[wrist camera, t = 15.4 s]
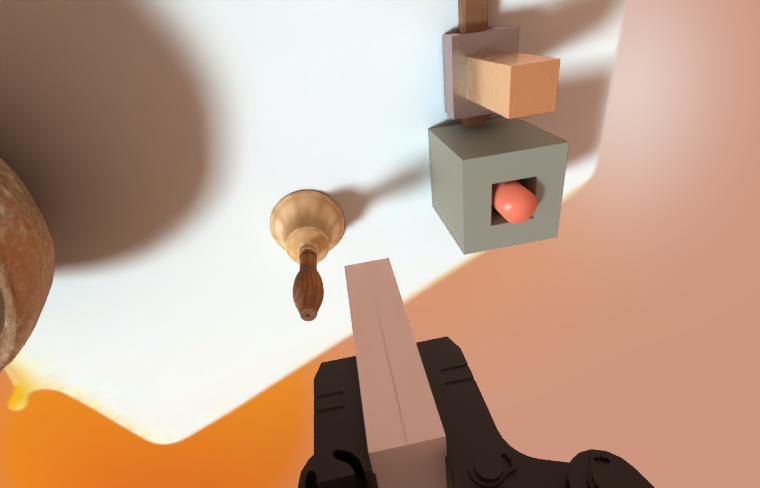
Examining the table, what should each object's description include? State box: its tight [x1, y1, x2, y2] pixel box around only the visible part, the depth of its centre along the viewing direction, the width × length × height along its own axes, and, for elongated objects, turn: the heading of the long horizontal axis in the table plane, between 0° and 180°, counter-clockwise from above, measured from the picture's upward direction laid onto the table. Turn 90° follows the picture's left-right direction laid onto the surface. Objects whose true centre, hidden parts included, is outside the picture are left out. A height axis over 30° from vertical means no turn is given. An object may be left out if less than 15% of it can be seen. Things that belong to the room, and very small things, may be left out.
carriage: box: [442, 26, 560, 120], centre depth 33 cm, size 7×6×13 cm
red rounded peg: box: [491, 180, 537, 223], centre depth 36 cm, size 3×3×8 cm
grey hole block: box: [428, 116, 569, 254], centre depth 39 cm, size 9×9×11 cm
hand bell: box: [270, 190, 344, 321], centre depth 37 cm, size 8×8×16 cm
